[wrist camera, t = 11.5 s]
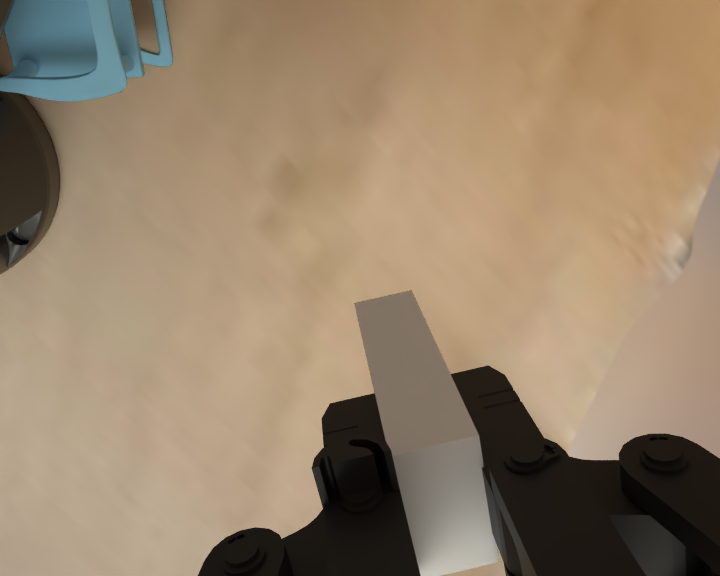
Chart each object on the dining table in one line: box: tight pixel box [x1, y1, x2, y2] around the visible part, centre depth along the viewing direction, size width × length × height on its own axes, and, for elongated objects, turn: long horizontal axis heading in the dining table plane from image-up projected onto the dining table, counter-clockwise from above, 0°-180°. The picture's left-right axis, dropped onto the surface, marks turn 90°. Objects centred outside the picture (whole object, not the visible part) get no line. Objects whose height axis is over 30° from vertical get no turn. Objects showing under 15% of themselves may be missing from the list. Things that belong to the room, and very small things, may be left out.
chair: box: [0, 0, 173, 102], centre depth 35 cm, size 8×8×12 cm
